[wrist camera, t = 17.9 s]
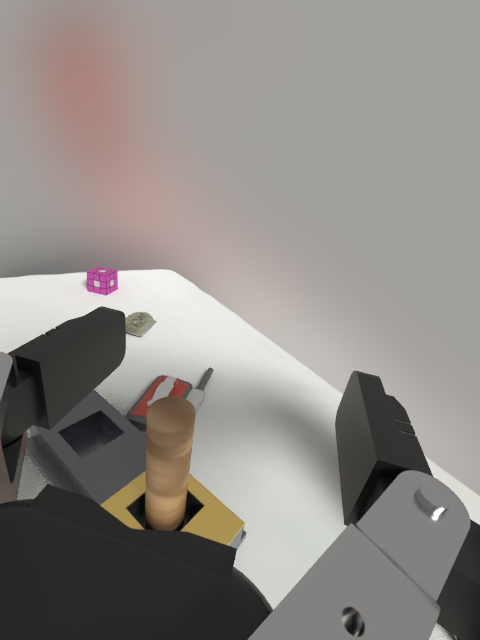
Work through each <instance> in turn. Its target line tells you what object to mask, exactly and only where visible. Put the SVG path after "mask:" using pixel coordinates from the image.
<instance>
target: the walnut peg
mask: <svg viewBox="0 0 480 640" xmlns="http://www.w3.org/2000/svg"><path fill="white" fill-rule="evenodd" d="M194 422H195V408H194V406H193V405H192V403H191V402H189V401H188V400H186V399H184V398H181V397H176V396H168V397H163V398H160V399H158V400H156V401H154V402H153V403H152V404H151V405H150V406H149V408H148V410H147V428H146V489H145V530H164V531H181V530H182V529H183V526H184V517H185V507H186V498H187V488H188V479H189V469H190V460H191V450H192V441H193V431H194Z"/></svg>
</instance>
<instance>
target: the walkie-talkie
mask: <svg viewBox="0 0 480 640" xmlns="http://www.w3.org/2000/svg"><path fill="white" fill-rule="evenodd" d="M212 372H213V369H212V368H209V369H208V371H207V373H206V374H205V376H204V378H203V380H202V381H201V383H200V385H199V387H197V389H194V388H192V384H190V383H189V382H186V381H182V380H180V379H178V378H174V377H170V376H164V375H163V376H158V377H157V378H156V379H155V380H154V382H153V383H152V384H151V385H150V387H149V388H148V389H147V390H146V392H145V393H144V395H142V397H141V398H140V400H138V402H137V403H136V404H135V406H133V408H132V409H131V411H129V413H128V414H127V416H125V418H126V419H127V420H128V421H129V422H131V423H132V424H133V425H134V426H135V427H136V428H137V429H138V430H139V431H141V432H142V433H143V434H144V435H145V436H146V428H147V410H148V408H149V406H150V405H151V404H152V403H153V402H154V401H156V400H158V399H160V398H163V397H168V396H176V397H181V398H184V399H186V400H188V401H189V402H191V403H192V405H193V406H194V408H195V412H196V411H197V409H198V407H199V405H200V403H201V402H202V401H203V397H204V388H205V386H206V384H207V382H208V380H209V378H210V376H211V374H212Z"/></svg>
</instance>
